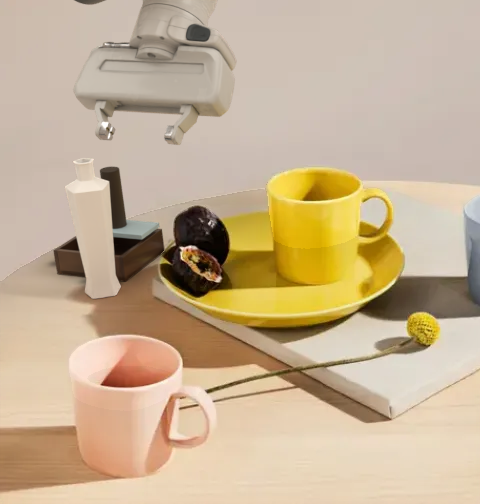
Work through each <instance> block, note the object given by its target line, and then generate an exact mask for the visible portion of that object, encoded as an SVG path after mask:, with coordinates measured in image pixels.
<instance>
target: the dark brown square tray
mask: <svg viewBox="0 0 480 504" xmlns="http://www.w3.org/2000/svg"><path fill="white" fill-rule="evenodd" d="M164 242H165V241H164V235H163V228H158V229H156V230H155V231H153V232H152V233H151V234H149V235H148V236H146V237H145V238H144V239H142V240H140V239H129V238H119V237H113V244H114V258H115V273H116V277H117V279H118V281H119V282H127V281H129V280H130V279H131V278H132V277H134V276H135V275H136V274H138V273H139V272H141V271H142V270H143V269H144V268H145V267H147V266H148V265H149V264H151V262H153V261H155V260H156V259H157V258H159V257H160V256H161V255H162V254H163V253H162V252H163V251H164V250H165V243H164ZM52 251H53V257H54V262H55V269H56V274H57V275H62V276H63V275H64V276H72V277H73V276H74V277H82V278H86V275H85V271H84V267H83V263H82V259H81V254H80V250H79V246H78V242H77V238H76V235H75V236H73V237H72V238H70V239H68V240H67V241H65V242H64V243H62V244H61V245H59V246H57V247H56V248H55V249H52ZM161 253H162V254H161Z"/></svg>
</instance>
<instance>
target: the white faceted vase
mask: <svg viewBox="0 0 480 504" xmlns="http://www.w3.org/2000/svg"><path fill="white" fill-rule="evenodd" d="M94 161H95V159H94V158H92V157H91V158H89V157H81V158H78V159H75V160H73V161H72V163H73V164H74V165H73V166H74V170H75V176H76V178H75V179H74V180H73V181H71V182H69V183H68V184H66V185H65V186H64V191H65V196H66V200H67V205H68V208H69V212H70V217H71V221H72V224H73V229H74V233H75V236H76V238H77V242H78V246H79V250H80V254H81V259H82V263H83V267H84V271H85V275H86V277H85V286H84V293H85V294H86V295H87V296H88V297H90V298H91V299H92V300H96V299H97V300H98V299H103V298H110V297H115V296H116V295H118V293H119V291H120V289H121V287H122V286H121V284H120V281H118V279H117V277H116V273H115V258H114V244H113V229H112V215H111V200H110V186H109V181H107V180H104V179H101V177H98V176H96V173H95V166H94Z"/></svg>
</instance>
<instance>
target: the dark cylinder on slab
mask: <svg viewBox="0 0 480 504" xmlns="http://www.w3.org/2000/svg"><path fill="white" fill-rule="evenodd" d="M99 175H100V178H101V179H104V180H107V181H109V186H110V200H111V215H112V229H113V237H119V238H129V239H140V240H142V239H144V238H145V237H146V236H148V235H149V234H151V233H152V232H153V231H155V230H156V229H160V223H159V222H155V221H145V220H133V219H127V216H126V215H127V213H126V208H125V200H124V193H123V186H122V179H121V171H120V167H118V166H105V167H102V168H100V169H99Z"/></svg>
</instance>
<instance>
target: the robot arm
mask: <svg viewBox="0 0 480 504" xmlns="http://www.w3.org/2000/svg"><path fill="white" fill-rule="evenodd" d="M74 1H75V2H76V3H78V4H82V5H88V6H89V5H90V6H93V5H97V4H99V3H103V2H105V1H106V0H74ZM217 3H218V0H142V4H141V7H140V9H139V12H138V16H137V19H136V22H135V24H134V27H133V30H132V33H131V37H130V40H129V42H127V41H126V42H125V41H124V42H123V41H122V42H114V41H105V42H102V44H100V45H98V46H96V47H94V48H92V49H91V51H90V53H89V56H88V57H87V59H86V60H85V62H84V65H83V66H82V68H81V70H80V72H79V74H78V77H77V79H76V81H75V83H74V86H73V89H72V90H73V94H74V97H75V98H76V99H77V100H78V101H79V103H80V104H81V105H82V106H83V107H84V108H86V109H87V110H91V111H94V113H95V117H96V120H97V122H98V123H97V124H96V128H95V131H94V134H95V136H96V137H97V139H99V140H100V141H112V140H113V139H114V136H113V135H114V134H115V132H116V128H115V127H114V126H113V125H112V124H111V123H110V121H109V118H112V117H113V116H114V113H115V112H123V113H128V112H129V113H144V114H159V115H160V114H162V115H177V116H178V115H180V117H179V118H178V119H177V121H176V122H175V123H174V124H173V125H167V126H166V127H165V128H166V129H165V133H164V136H163V139H164V141H165V142H167V144H168V145H175V146H180V145H182V142H183V139H184V135H185V134H187V132H188V131H189V130H191V128H193V127H194V125H195V124H196V123H197V121H198V117H213V118H220V117H222V116H223V115H225V114H226V113H227V112H228V111H229V110H230V107H231V103H232V100H233V95H234V90H235V81H236V79H235V78H236V77H235V74H234V72H233V71H234V69H236V65H237V58H236V55H235V53H234V51H233V49H232V48H231V46H230V44H229V43H228V41H227V40H226V38H225V37H224V36H223V35H222V34H221V32H220V31H219V30H218V29H216V28H213V27H210V26H209V20H210V17H211V16H212V15H213V14H214V12H215V10H216V7H217Z"/></svg>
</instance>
